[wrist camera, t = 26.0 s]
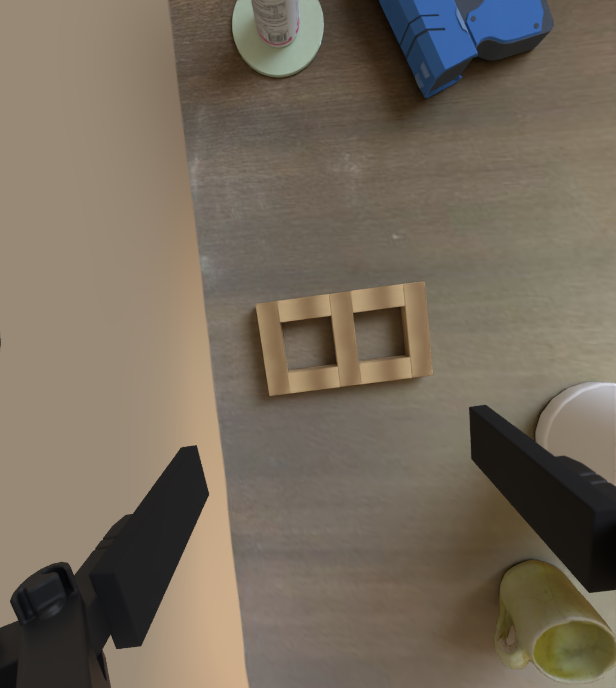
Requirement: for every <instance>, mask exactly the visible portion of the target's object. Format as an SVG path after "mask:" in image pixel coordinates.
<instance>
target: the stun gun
mask: <svg viewBox="0 0 616 688" xmlns="http://www.w3.org/2000/svg"><path fill="white" fill-rule="evenodd" d="M379 2H380V4H381V6H382V8H383V11H384V13H385V15H386V17H387V19H388V21H389V23H390V25H391V28H392V30H393V32H394V34H395V36H396V38H397V40H398V42H399V45H400V46H401V49H402V51H403V53H404V55H405V57H406V58H407V61H408V64H409V66H410V68H411V70H412V72H413V74H414V76H415V79H416V82H417V84H418V86H419V88H420V89H421V91H422V93H423V95H424V97H425V98H429V97H431V96H433V95H435V94H436V93H438V92H440V91H442V90H444V89H446V88H448V87H450V86H451V85H453V84H455V83H456V82H458V81H459V80H460V79H461V78H462V76H461V74H462V73H463V71H464V70H465V68H466V67H467V66H468V64H469V63H470V61H471V60H472V59H473V57H474V58H475V57H480V58H483V59H486V60H499V59H503V58H506V57H509V56H512V55H515V54H519V53H522V52H525V51H528V50H531V49H534V48H535V47H536V46H537V45H538V44H539V43H540V42H541V41H542V40H543V39H544V38H545V36H546V35H547V34H548V33H549V32H550V31H551V30H552V28H553V26H554V23H553V19H552V16H551V13H550V10H549V7H548V4H547V1H546V0H379Z"/></svg>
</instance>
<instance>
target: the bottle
mask: <svg viewBox="0 0 616 688" xmlns="http://www.w3.org/2000/svg"><path fill="white" fill-rule="evenodd" d="M535 437H536V443H538V444H539V445H540V446H542V447H543V448H544V449H546V450H547V451H548V452H550V453H551V454H553V455H554V456H555V457H557V456H564V455H565V456H567V457H569V458H572V459H574V460H576V461H579V462H581V463H583V464H584V465H586V466H587V467H589V468H590V469H591V470H593V471H594V472H596V474H599V475H600V476H602V477H603V478H604V479H606V480H607V482H608V483H609V482H610V483H612V484H613V485H615V486H616V383H609V382H585V383H582V384H579V385H575V386H572V387H569V388H567V389H566V390H564V391H563V392H561V393H560V394H559V395H557V396H556V397H554V398H553V399H552V400H551V401H550V403H549V404H548V405H547V407H546V408H545V409H544V411H543V412H542V413H541V415H540V418H539V421H538V425H537V428H536V431H535Z"/></svg>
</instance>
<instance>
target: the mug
mask: <svg viewBox="0 0 616 688" xmlns="http://www.w3.org/2000/svg"><path fill="white" fill-rule="evenodd" d="M499 594H500V597H499V610H500V613H499V618H498V621H497V625H496V632H495V636H494V644H495V648H496V652H497V655H498V657H499V659H500V660H501V661H502V663H503V664H504V665H505V666H507V667H509V668H513V669H522V668H524V667H525V666H526V665H527V664H528V662H529V661H531V662H532V663H533V664H534V665H535V666H536V667H537V669H538V670H539V671H540V672H541V673H543V674H544V675H545V676H547V677H549V678H551V679H552V680H554V681H557V682H560V683H565V684H586V683H592V682H594V681H597V680H600V679H602V678H603V677H604V675H605V674H606V672H607V671H609V670H610V669H612V668H613V667H614V666H615V665H616V636H615V634H614V633H613V632H612V630H611V629H610V628H609V626H608V625H607V623H606V622H605V621H604V620H603V618H602V617H601V616H600V615H599V614H598V613H597V611H596V610H595V609H594V608H593V606H592V605H591V604H590V603H589V602H588V601H587V600H586V599H585V598H584V596H583V595H582V594H581V593H580V592H579V591H578V590H577V589H576V587H575V586H574V585H573V584H572V582H571V581H570V580H569V579H568V578H567V576H566V575H565V574H564V573H563V572H562V571H560V570H559V569H558V568H556V567H555V566H553V565H551V564H548V563H545V562H542V561H539V560H528V561H525V562H522V563H520V564H517V565H516V566H514V567H512V568H511V569H509V570H508V571H507V572H506V573H505V575H504V577H503V579H502V581H501V584H500V592H499ZM512 625H513V626H514V627H515V632H516V635H515V642H514V643H513V644H512V645H510V646H508V645H507V643H506V639H507V637H508V633H509V629H510V627H511V626H512Z"/></svg>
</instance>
